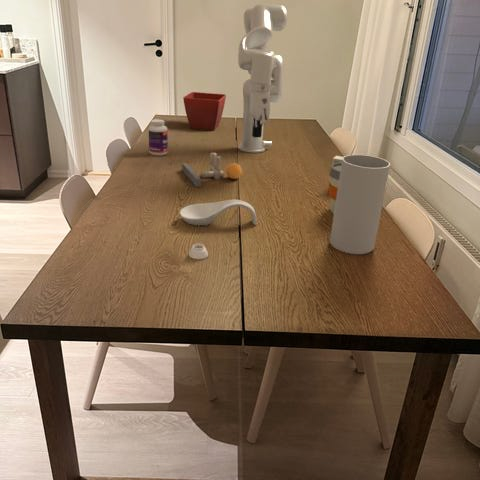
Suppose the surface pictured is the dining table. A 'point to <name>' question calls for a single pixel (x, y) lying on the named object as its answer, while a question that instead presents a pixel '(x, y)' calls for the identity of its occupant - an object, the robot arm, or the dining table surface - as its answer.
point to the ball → (234, 171)
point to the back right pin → (212, 161)
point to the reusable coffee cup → (334, 184)
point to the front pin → (210, 174)
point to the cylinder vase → (359, 203)
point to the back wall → (191, 175)
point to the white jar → (198, 252)
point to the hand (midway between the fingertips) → (256, 136)
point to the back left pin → (217, 167)
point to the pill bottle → (158, 138)
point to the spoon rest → (212, 211)
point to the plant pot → (204, 110)
